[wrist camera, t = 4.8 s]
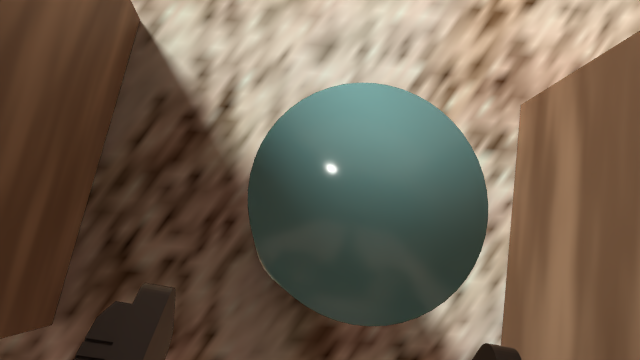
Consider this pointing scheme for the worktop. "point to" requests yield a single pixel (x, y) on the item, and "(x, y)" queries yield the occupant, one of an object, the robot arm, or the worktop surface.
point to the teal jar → (367, 204)
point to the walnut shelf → (528, 200)
